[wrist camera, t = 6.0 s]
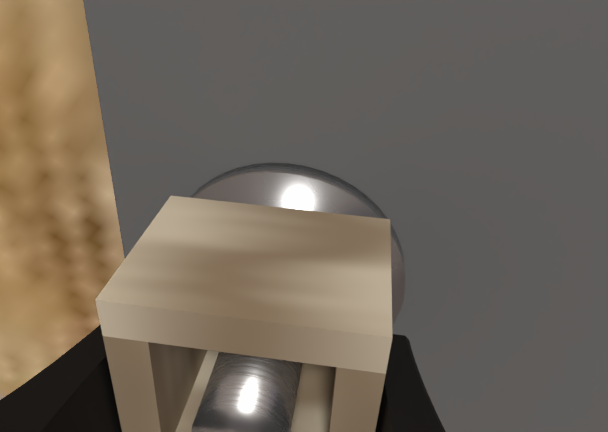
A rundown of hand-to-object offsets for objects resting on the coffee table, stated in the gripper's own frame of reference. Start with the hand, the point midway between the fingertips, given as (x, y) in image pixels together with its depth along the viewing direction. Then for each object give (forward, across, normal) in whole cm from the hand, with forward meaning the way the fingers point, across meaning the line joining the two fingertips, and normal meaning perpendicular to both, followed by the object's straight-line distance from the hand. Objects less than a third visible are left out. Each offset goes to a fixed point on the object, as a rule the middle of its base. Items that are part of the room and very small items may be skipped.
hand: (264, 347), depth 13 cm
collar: (+2, 0, 0) cm, 2 cm away
